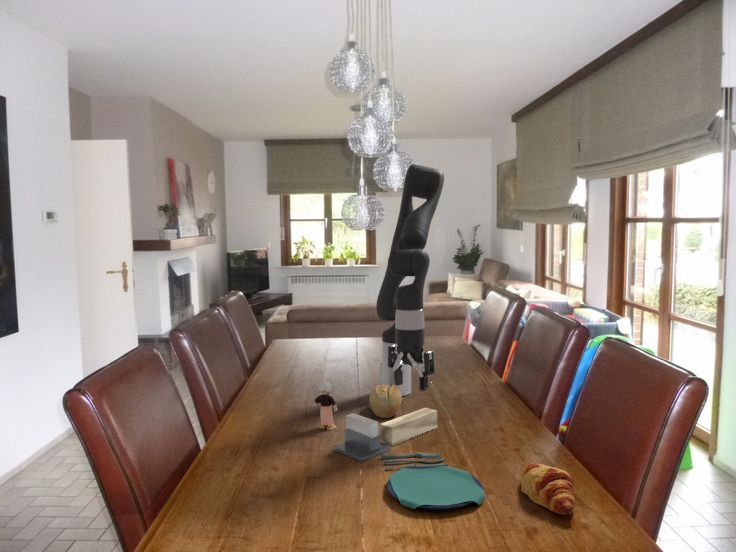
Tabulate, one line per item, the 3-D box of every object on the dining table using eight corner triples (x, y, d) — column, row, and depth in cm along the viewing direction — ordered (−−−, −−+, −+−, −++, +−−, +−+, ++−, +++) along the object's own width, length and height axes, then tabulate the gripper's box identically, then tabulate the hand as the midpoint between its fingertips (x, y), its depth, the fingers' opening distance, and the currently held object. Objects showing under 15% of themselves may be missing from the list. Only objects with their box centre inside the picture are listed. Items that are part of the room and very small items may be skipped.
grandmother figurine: (341, 426, 165) (341, 381, 163) (336, 431, 161) (335, 385, 160) (316, 423, 167) (315, 379, 166) (310, 428, 164) (309, 382, 162)
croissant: (515, 490, 132) (499, 460, 131) (554, 467, 133) (538, 437, 132) (557, 539, 111) (537, 504, 110) (602, 511, 112) (583, 475, 111)
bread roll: (399, 403, 184) (399, 378, 184) (404, 419, 170) (403, 392, 169) (368, 404, 184) (368, 378, 183) (370, 420, 169) (369, 393, 169)
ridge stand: (333, 450, 148) (333, 418, 147) (363, 439, 155) (363, 409, 154) (361, 461, 141) (360, 428, 140) (391, 449, 147) (390, 418, 147)
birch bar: (380, 443, 153) (380, 424, 152) (425, 425, 165) (425, 407, 165) (392, 447, 150) (392, 427, 150) (437, 428, 163) (437, 410, 162)
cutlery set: (397, 520, 113) (397, 509, 113) (372, 460, 143) (372, 451, 143) (497, 512, 116) (498, 501, 116) (453, 455, 146) (453, 446, 146)
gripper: (440, 327, 152) (441, 389, 154) (399, 321, 163) (400, 380, 164) (420, 331, 147) (421, 395, 149) (380, 325, 158) (381, 385, 159)
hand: (410, 387), depth 156 cm, fingers open, 8 cm apart
